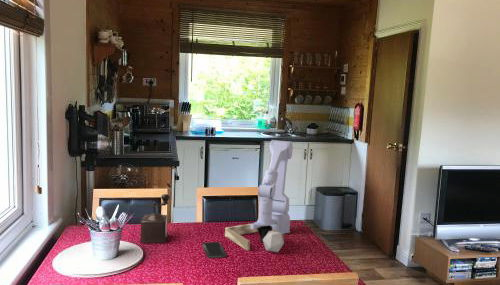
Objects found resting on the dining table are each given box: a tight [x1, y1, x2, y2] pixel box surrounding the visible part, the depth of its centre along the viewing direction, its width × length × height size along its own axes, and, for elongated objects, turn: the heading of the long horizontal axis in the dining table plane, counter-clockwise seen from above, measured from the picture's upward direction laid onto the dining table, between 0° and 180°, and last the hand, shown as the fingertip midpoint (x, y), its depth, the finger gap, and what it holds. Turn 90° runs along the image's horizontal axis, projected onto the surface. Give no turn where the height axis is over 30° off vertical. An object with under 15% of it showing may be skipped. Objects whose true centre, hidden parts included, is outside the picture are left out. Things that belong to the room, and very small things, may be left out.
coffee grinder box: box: [140, 193, 171, 244], centre depth 179 cm, size 16×11×18 cm
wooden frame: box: [224, 223, 285, 251], centre depth 183 cm, size 19×19×4 cm
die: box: [263, 231, 285, 253], centre depth 171 cm, size 8×9×10 cm
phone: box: [201, 241, 227, 259], centre depth 168 cm, size 8×1×15 cm
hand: (263, 242), depth 176 cm, fingers closed
